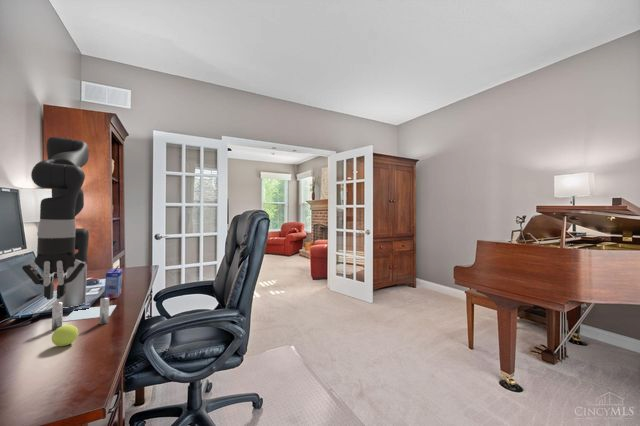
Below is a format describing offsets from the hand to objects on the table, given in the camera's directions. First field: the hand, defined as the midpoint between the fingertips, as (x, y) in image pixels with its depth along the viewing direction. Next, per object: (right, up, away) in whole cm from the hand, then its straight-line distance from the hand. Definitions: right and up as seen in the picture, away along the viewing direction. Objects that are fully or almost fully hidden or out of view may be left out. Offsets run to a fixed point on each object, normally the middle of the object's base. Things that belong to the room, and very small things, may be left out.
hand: (54, 298), depth 76 cm
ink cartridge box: (-27, -17, +58) cm, 66 cm away
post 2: (-7, -17, +26) cm, 31 cm away
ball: (-5, -14, +8) cm, 17 cm away
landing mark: (-19, -17, +35) cm, 43 cm away
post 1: (-18, -17, +19) cm, 31 cm away
